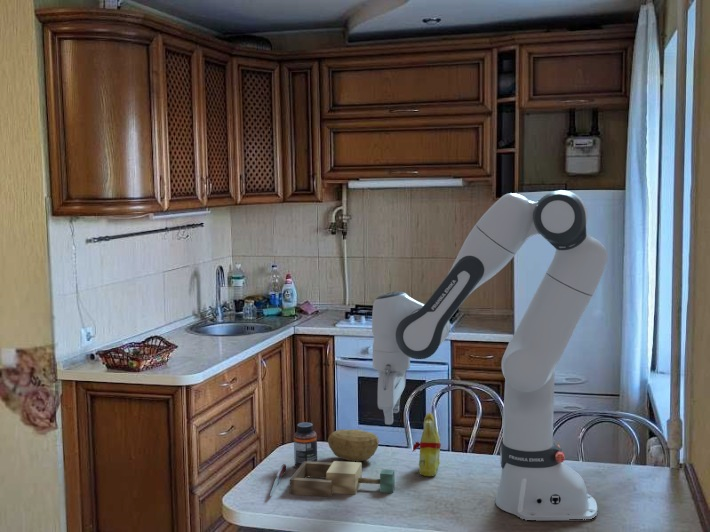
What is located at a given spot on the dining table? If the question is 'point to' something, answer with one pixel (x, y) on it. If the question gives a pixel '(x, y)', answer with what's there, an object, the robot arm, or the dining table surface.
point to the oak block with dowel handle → (356, 478)
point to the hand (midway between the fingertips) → (392, 417)
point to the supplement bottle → (305, 444)
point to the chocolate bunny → (429, 447)
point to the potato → (353, 444)
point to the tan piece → (311, 486)
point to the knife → (278, 477)
